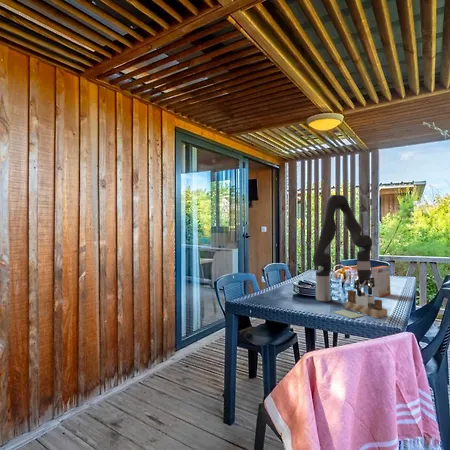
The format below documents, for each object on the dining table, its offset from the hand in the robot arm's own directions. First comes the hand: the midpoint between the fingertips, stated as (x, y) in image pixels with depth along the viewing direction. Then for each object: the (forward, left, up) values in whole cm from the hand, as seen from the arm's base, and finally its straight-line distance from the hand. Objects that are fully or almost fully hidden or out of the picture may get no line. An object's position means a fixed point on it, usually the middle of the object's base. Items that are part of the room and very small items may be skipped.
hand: (364, 295), depth 188 cm
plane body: (0, 0, -10) cm, 10 cm away
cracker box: (-25, +44, -10) cm, 52 cm away
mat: (-1, -13, -10) cm, 16 cm away
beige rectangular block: (0, 0, -6) cm, 6 cm away
